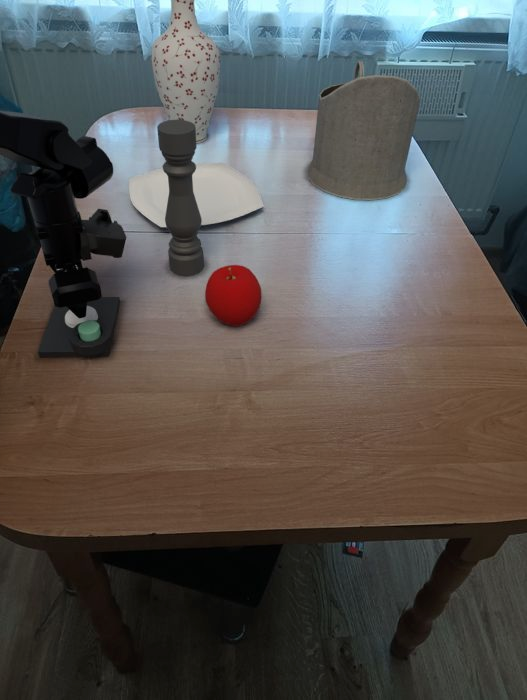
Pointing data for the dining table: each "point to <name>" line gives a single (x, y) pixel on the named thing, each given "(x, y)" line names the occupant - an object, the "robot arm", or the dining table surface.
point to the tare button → (89, 330)
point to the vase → (186, 69)
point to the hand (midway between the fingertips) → (78, 305)
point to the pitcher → (364, 136)
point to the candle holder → (181, 196)
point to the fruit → (233, 294)
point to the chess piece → (74, 320)
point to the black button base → (67, 339)
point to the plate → (198, 194)
